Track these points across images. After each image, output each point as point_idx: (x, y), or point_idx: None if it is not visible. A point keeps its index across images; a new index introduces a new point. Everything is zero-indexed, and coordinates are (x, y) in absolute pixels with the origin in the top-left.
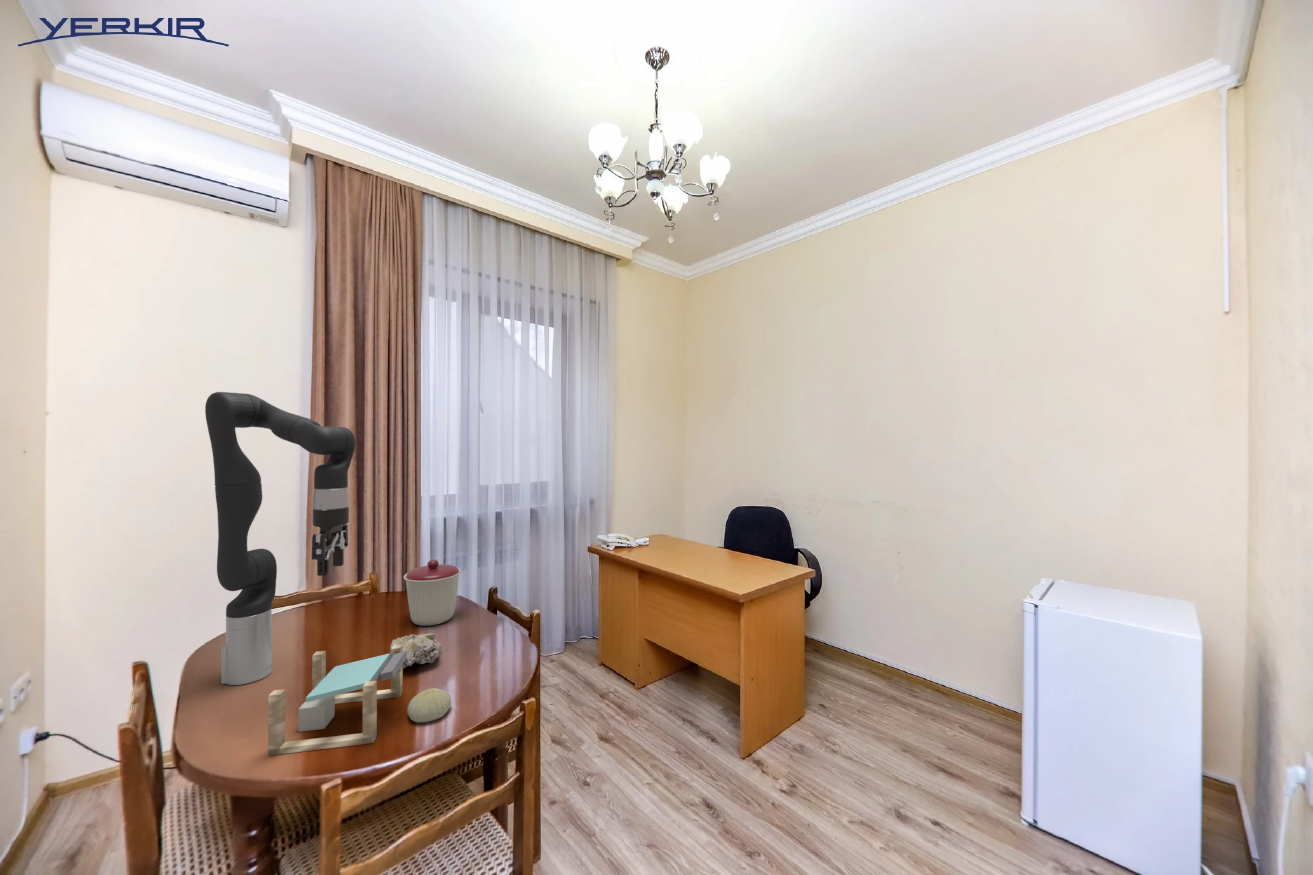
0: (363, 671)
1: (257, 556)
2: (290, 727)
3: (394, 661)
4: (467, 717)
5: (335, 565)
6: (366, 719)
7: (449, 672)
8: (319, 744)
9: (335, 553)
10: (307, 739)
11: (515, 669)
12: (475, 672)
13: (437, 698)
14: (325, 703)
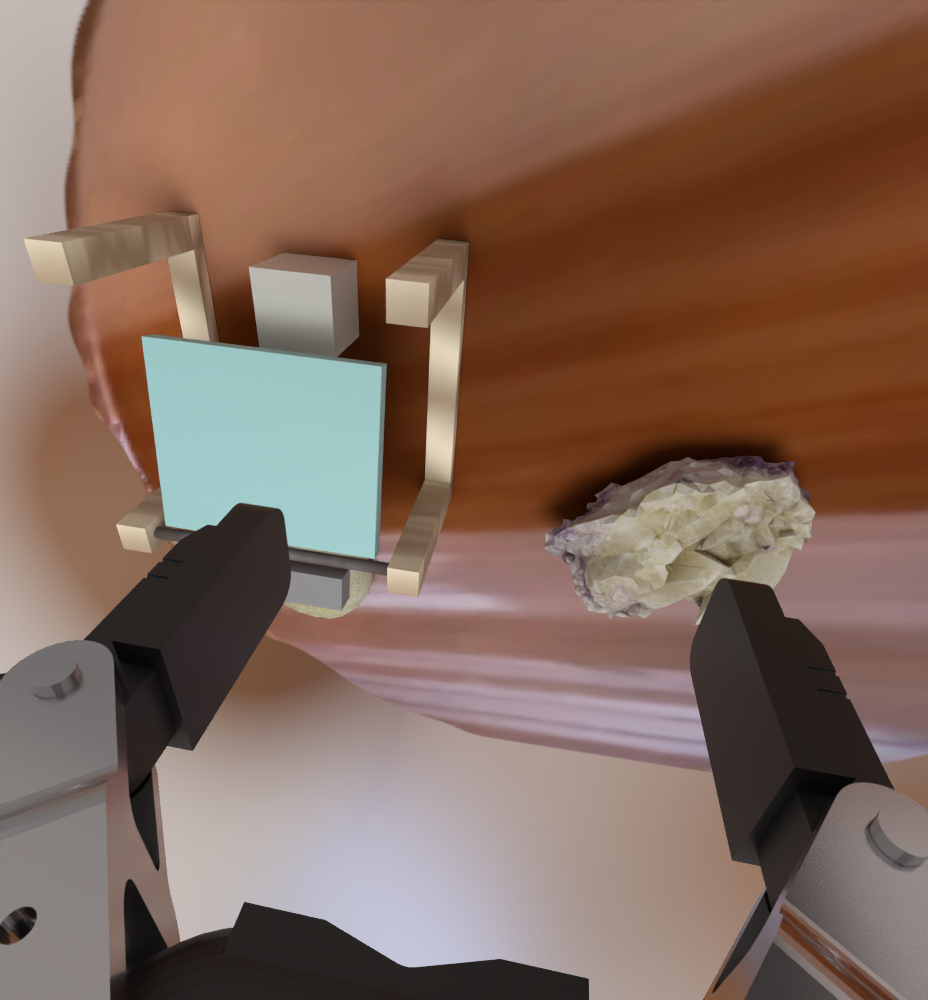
0: (260, 494)
1: None
2: (309, 215)
3: None
4: (299, 623)
5: (713, 600)
6: None
7: (541, 598)
8: None
9: (764, 766)
10: (205, 312)
11: (499, 717)
12: (515, 649)
13: (290, 605)
14: (275, 347)
